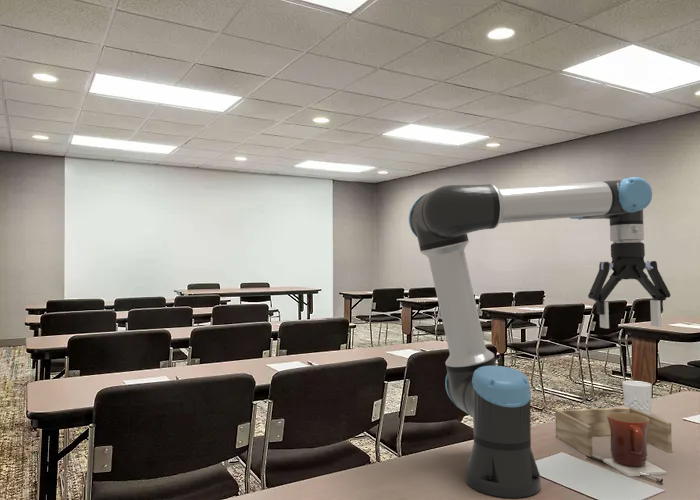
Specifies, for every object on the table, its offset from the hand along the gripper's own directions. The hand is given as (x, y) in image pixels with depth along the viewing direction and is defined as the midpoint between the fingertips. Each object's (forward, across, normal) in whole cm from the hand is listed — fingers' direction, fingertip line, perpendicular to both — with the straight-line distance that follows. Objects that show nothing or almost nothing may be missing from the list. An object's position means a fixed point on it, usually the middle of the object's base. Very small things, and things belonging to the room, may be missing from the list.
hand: (630, 327), depth 130 cm
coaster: (+30, -7, -10) cm, 33 cm away
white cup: (+31, +20, +29) cm, 47 cm away
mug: (+30, -8, -10) cm, 33 cm away
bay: (+30, -3, +5) cm, 31 cm away
